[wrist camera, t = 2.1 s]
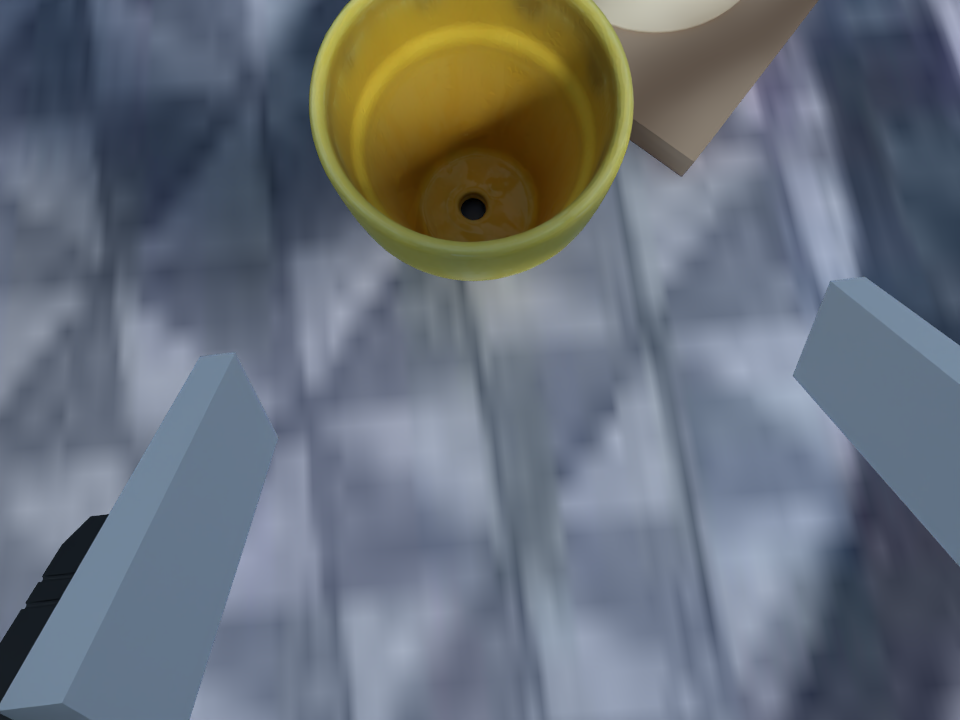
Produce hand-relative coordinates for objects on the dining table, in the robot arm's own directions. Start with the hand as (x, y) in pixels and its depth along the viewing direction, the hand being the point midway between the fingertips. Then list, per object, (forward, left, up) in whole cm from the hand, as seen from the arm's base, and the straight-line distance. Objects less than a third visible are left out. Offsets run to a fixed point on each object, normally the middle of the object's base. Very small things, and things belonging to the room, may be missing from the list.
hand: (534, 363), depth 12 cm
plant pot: (-7, +6, -13) cm, 16 cm away
